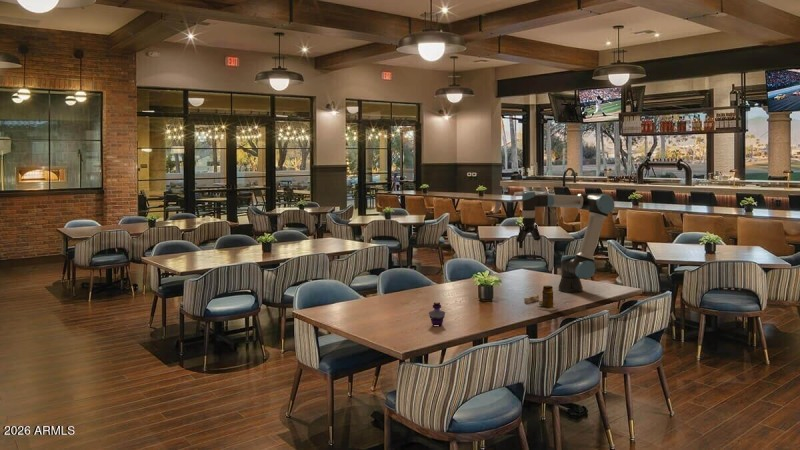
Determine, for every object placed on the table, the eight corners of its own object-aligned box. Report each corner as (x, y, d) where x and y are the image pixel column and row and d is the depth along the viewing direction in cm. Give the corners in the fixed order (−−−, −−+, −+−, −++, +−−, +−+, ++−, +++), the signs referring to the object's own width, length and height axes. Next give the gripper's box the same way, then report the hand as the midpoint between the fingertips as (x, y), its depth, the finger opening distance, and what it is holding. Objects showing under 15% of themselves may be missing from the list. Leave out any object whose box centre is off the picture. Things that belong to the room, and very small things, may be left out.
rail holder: (536, 300, 385) (536, 295, 384) (553, 303, 376) (553, 298, 375) (524, 303, 377) (524, 298, 377) (540, 306, 368) (540, 301, 368)
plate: (545, 305, 371) (545, 303, 370) (561, 308, 362) (561, 306, 362) (533, 308, 363) (533, 306, 363) (549, 311, 355) (549, 310, 355)
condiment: (556, 307, 362) (556, 286, 360) (546, 309, 357) (546, 288, 356) (546, 304, 368) (546, 284, 366) (536, 307, 363) (536, 286, 362)
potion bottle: (444, 322, 335) (444, 300, 334) (446, 327, 326) (446, 304, 325) (428, 323, 334) (427, 301, 333) (429, 327, 326) (429, 304, 325)
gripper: (536, 215, 395) (536, 249, 397) (510, 218, 379) (510, 253, 381) (546, 216, 390) (546, 250, 392) (520, 219, 373) (520, 254, 376)
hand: (528, 252), depth 386 cm, fingers open, 13 cm apart
